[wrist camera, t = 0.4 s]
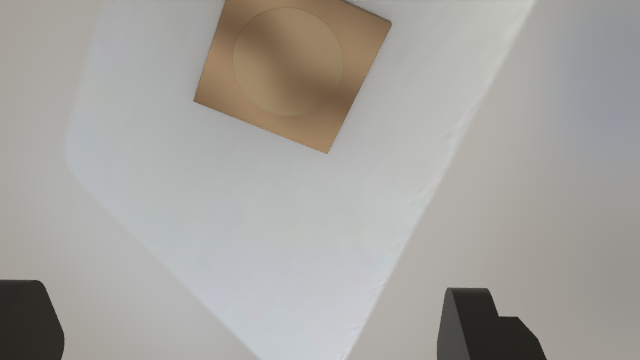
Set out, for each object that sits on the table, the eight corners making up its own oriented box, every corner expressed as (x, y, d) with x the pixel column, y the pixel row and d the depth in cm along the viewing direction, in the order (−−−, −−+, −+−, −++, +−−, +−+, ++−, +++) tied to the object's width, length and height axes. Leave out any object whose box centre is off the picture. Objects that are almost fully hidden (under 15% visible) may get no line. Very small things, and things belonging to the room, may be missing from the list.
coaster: (241, -47, 30) (239, -46, 29) (390, 22, 32) (391, 24, 31) (195, 97, 35) (192, 101, 34) (327, 150, 36) (327, 154, 36)
